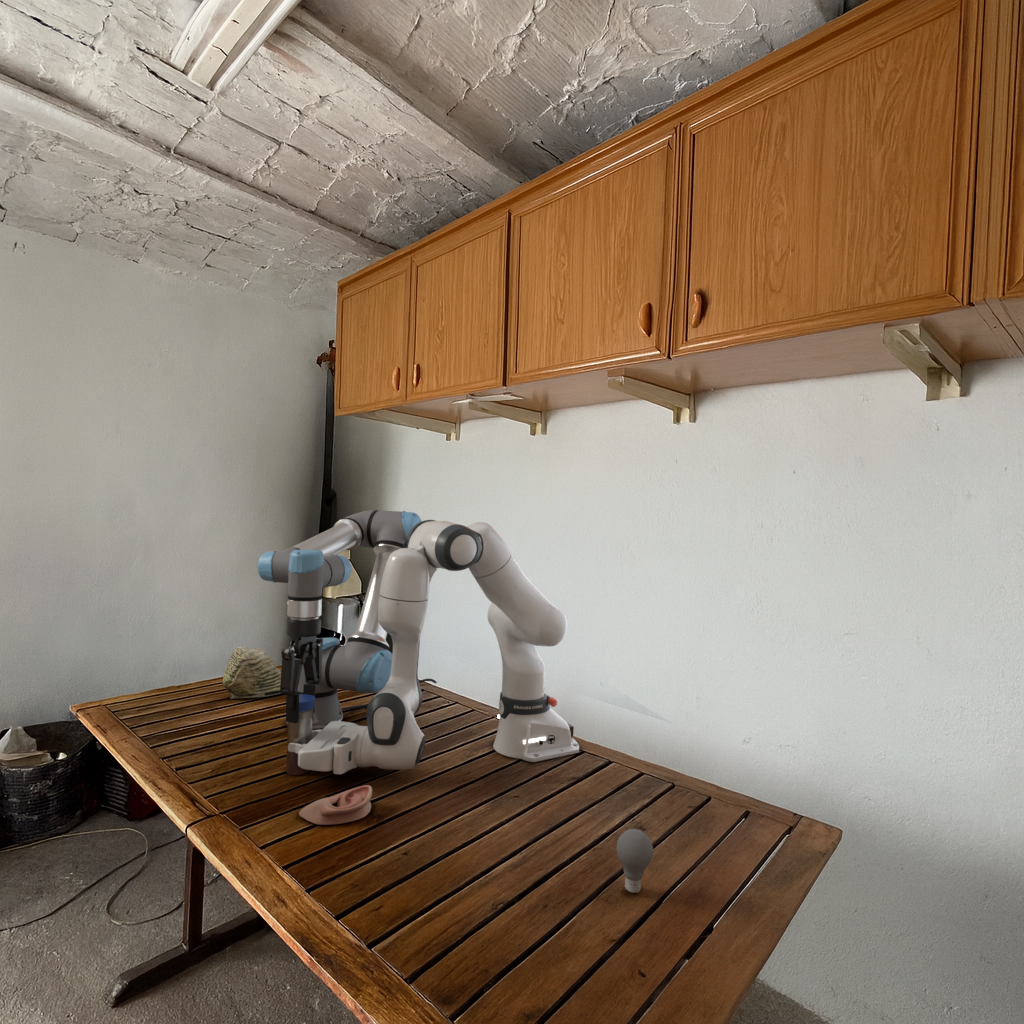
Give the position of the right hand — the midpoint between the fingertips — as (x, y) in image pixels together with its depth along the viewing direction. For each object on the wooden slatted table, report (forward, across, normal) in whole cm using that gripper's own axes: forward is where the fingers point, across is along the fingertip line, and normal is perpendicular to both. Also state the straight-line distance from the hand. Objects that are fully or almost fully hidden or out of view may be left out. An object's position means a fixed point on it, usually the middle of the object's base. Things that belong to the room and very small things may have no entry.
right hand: (295, 740), depth 146 cm
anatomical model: (-16, +17, +7) cm, 25 cm away
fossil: (+35, -49, +7) cm, 60 cm away
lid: (-1, 0, -10) cm, 10 cm away
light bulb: (-74, +34, +7) cm, 82 cm away
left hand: (-1, 0, -6) cm, 6 cm away
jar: (-1, 0, +7) cm, 7 cm away
